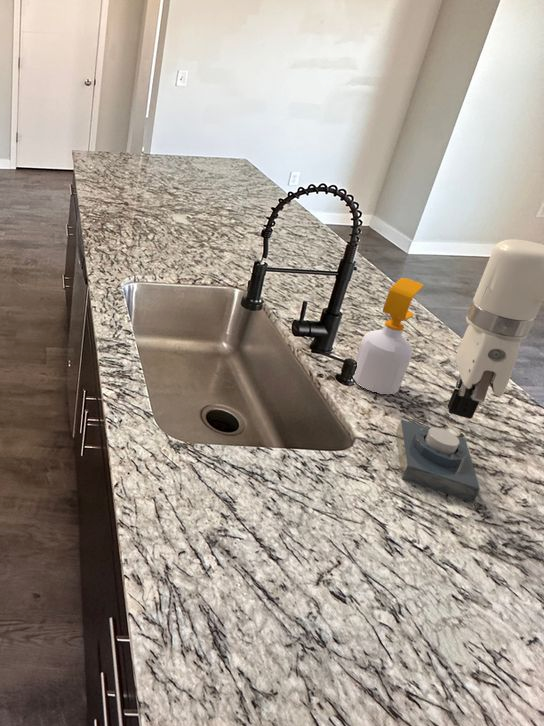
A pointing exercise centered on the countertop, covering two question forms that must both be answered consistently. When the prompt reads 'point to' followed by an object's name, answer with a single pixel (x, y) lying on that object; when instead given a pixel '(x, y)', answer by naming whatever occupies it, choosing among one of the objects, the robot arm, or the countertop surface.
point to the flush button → (442, 440)
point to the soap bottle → (388, 343)
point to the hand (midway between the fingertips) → (459, 413)
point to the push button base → (435, 463)
